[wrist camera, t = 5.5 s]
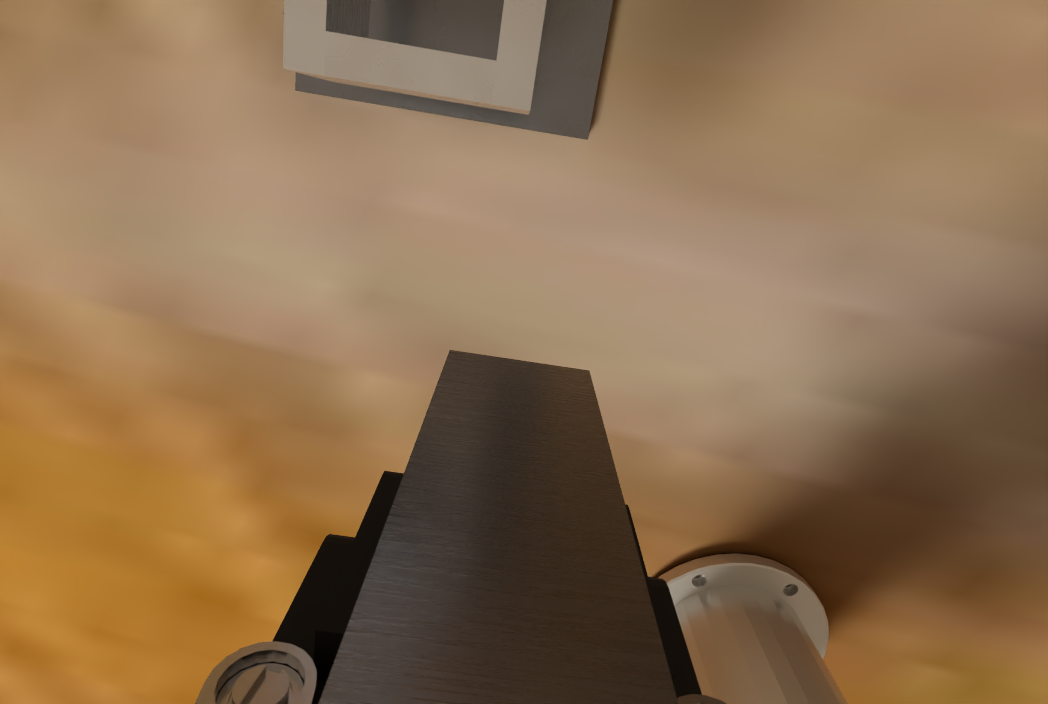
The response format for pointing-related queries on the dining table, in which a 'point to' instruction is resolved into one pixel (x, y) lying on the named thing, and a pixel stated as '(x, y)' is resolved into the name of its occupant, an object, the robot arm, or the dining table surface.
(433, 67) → the grey boxy fixture
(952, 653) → the dining table surface
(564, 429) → the grey block
